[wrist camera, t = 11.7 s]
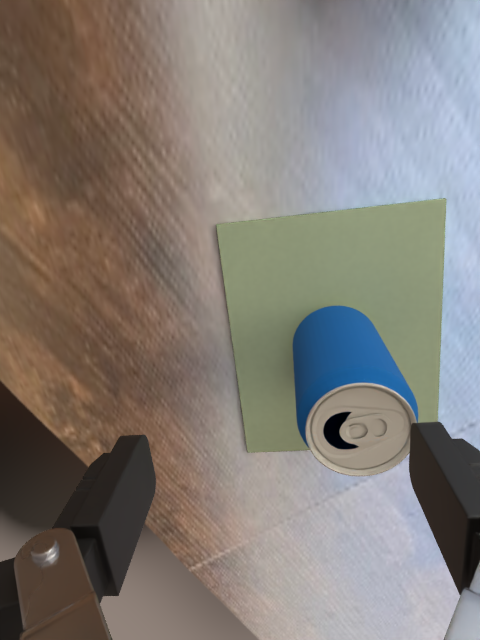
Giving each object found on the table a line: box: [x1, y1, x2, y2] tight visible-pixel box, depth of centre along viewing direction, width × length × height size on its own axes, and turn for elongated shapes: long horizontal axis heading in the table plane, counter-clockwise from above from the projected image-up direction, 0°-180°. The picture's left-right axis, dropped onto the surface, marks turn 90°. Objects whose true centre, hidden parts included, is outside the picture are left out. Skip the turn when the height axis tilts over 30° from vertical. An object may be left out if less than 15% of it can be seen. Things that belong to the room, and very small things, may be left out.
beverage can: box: [292, 305, 418, 476], centre depth 27 cm, size 6×6×12 cm
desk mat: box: [216, 198, 446, 453], centre depth 33 cm, size 16×20×1 cm
